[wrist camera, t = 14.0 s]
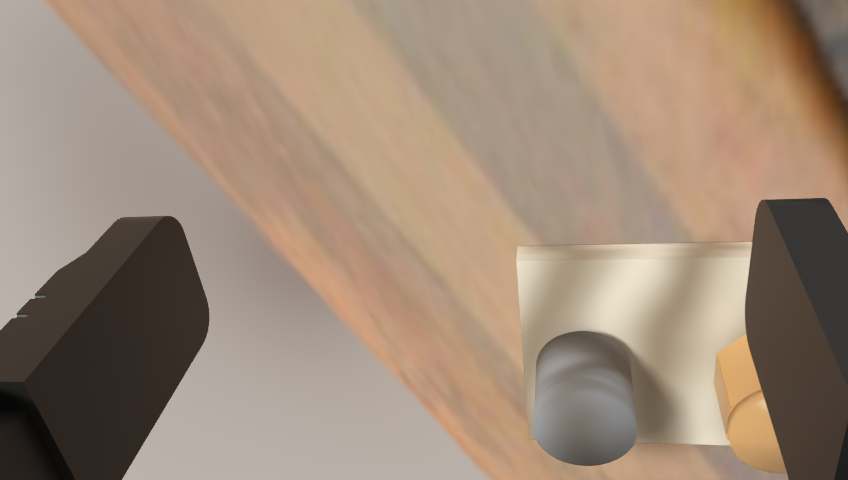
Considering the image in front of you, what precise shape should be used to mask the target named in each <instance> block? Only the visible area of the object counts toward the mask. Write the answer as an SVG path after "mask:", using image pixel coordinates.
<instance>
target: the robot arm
mask: <svg viewBox="0 0 848 480" xmlns="http://www.w3.org/2000/svg"><path fill="white" fill-rule="evenodd" d="M208 326H209V308H208V302H207V298H206V296H205V292H204V290H203V287H202V284H201V281H200V278H199V275H198V272H197V269H196V266H195V263H194V260H193V257H192V254H191V251H190V248H189V245H188V242H187V239H186V236H185V233H184V231H183V228H182V226H181V224H180V223H179V222H178V221H177V220H176V219H175V218H174V217H171V216H153V217H123V218H120V219H118V220H117V221H116V222H114V223H113V225H112V226H111V227H110V228H109V229H108V230H107V231H106V232H105V233H104V234H103V235H102V236H101V237H100V238H99V240H98V241H97V242H96V243H95V244H94V245H93V246H92V247H91V248H90V249H89V250H88V251H87V252H86V253H85V254H83V255H82V256H80V257H78V258H77V259H75V260H74V261H72V262H71V263H69V264H68V265H66V266H64V267H63V268H61V269H60V270H58V271H57V272H56V273H55V274H54V275H53V276H52V277H51V278H50V279H49V280H48V281H47V283H46V284H44V285H43V286H42V287H41V289H40V290H39V291H38V292H37V293H36V294H35V299H30V300H29V301H28V302H27V303H26V304H25V305H24V306H23V307H22V308H21V309H20V311H19V312H18V313H17V318H14V319H11V320H10V321H9V322H8V323H7V324H6V325H5V326H4V327H3V328H2V330H0V480H122V478H123V477H124V475H125V473H126V472H127V470H128V468H129V466H130V465H131V463H132V462H133V460H134V458H135V456H136V455H137V453H138V451H139V450H140V448H141V446H142V445H143V443H144V442H145V440H146V438H147V437H148V435H149V433H150V431H151V430H152V428H153V427H154V425H155V423H156V422H157V420H158V418H159V417H160V415H161V413H162V412H163V410H164V408H165V406H166V405H167V403H168V401H169V400H170V398H171V396H172V395H173V393H174V391H175V390H176V388H177V386H178V385H179V383H180V381H181V380H182V378H183V376H184V375H185V373H186V371H187V370H188V368H189V366H190V364H191V363H192V361H193V360H194V358H195V356H196V354H197V353H198V351H199V350H200V348H201V346H202V345H203V343H204V341H205V338H206V335H207V332H208ZM745 327H746V335H747V341H748V346H749V349H750V353H751V356H752V359H753V363H754V366H755V369H756V372H757V376H758V379H759V382H760V386H761V389H762V392H763V396H764V399H765V402H766V405H767V409H768V412H769V415H770V419H771V422H772V425H773V428H774V432H775V435H776V438H777V442H778V445H779V448H780V451H781V455H782V458H783V461H784V465H785V468H786V471H787V474H788V478H789V480H848V233H847V231H846V229H845V227H844V226H843V224H842V222H841V220H840V219H839V217H838V215H837V213H836V212H835V210H834V208H833V206H832V205H831V203H830V202H829V200H827V199H825V198H811V199H777V200H762V201H761V202H760V203H759V205H758V208H757V212H756V217H755V225H754V233H753V241H752V249H751V257H750V265H749V274H748V282H747V290H746V299H745Z"/></svg>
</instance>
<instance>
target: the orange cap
mask: <svg viewBox="0 0 848 480" xmlns="http://www.w3.org/2000/svg"><path fill="white" fill-rule="evenodd" d="M713 383H714V387H715V391H716V395H717V400H718V404H719V408H720V413H721V417H722V421H723V425H724V430H725V434H726V438H727V439H728V440H729V441H730V445H731V447H732V450H733V451H734V453H735V454H736V455H737V457H738V458H739V459H740V460H742V461H743V462H744V463H746V464H747V465H749V466H751V467H753V468H756V469H759V470H762V471H766V472H772V473H787V471H786V468H785V465H784V461H783V458H782V455H781V451H780V448H779V445H778V442H777V438H776V435H775V432H774V428H773V425H772V422H771V419H770V415H769V412H768V409H767V405H766V402H765V399H764V396H763V392H762V389H761V386H760V382H759V379H758V376H757V372H756V369H755V366H754V363H753V359H752V356H751V353H750V349H749V346H748V341H747V335H746V334H745V335H743V336H742V337H740V338H739V339H737V340H736V341H734V342H733V343H731V344H730V345H728V346H727V347H725V348H724V349H722V350H721V351H720V352H718V354H716V363H715V373H714V382H713Z"/></svg>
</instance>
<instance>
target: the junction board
mask: <svg viewBox="0 0 848 480" xmlns="http://www.w3.org/2000/svg"><path fill="white" fill-rule="evenodd" d="M751 249H752V242H721V243H669V244H618V245H566V246H518V249H517V260H516V262H517V277H518V291H519V305H520V319H521V334H522V348H523V362H524V376H525V391H526V405H527V419H528V433H529V440H537V442H538V444H539V445H540V446H541V447H542V448H543V449H544V451H546V452H547V453H548V454H549V455H551V456H553V457H554V458H556V459H558V460H561V461H563V462H566V463H570V464H575V465H583V466H593V465H601V464H606V463H609V462H612V461H614V460H617V459H618V458H620V457H622V456H623V455H625V454H626V453H627V452H628V451H629V450H630V449H631V448H632V446H633V445H634V443H669V444H703V445H730V441H729V440H728V439H727V438H726V434H725V430H724V425H723V421H722V417H721V413H720V408H719V404H718V400H717V395H716V391H715V387H714V383H713V382H714V373H715V363H716V354H718V352H720V351H721V350H722V349H724V348H725V347H727V346H728V345H730V344H731V343H733V342H734V341H736V340H737V339H739V338H740V337H742V336H743V335H745V334H746V327H745V299H746V290H747V282H748V274H749V265H750V257H751Z"/></svg>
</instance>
